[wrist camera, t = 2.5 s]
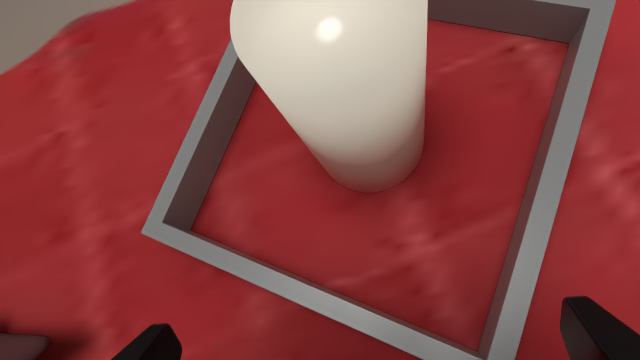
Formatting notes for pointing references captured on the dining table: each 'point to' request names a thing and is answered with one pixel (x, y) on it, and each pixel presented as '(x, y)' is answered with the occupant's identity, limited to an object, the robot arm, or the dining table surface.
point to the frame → (534, 215)
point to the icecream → (22, 346)
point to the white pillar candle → (343, 80)
